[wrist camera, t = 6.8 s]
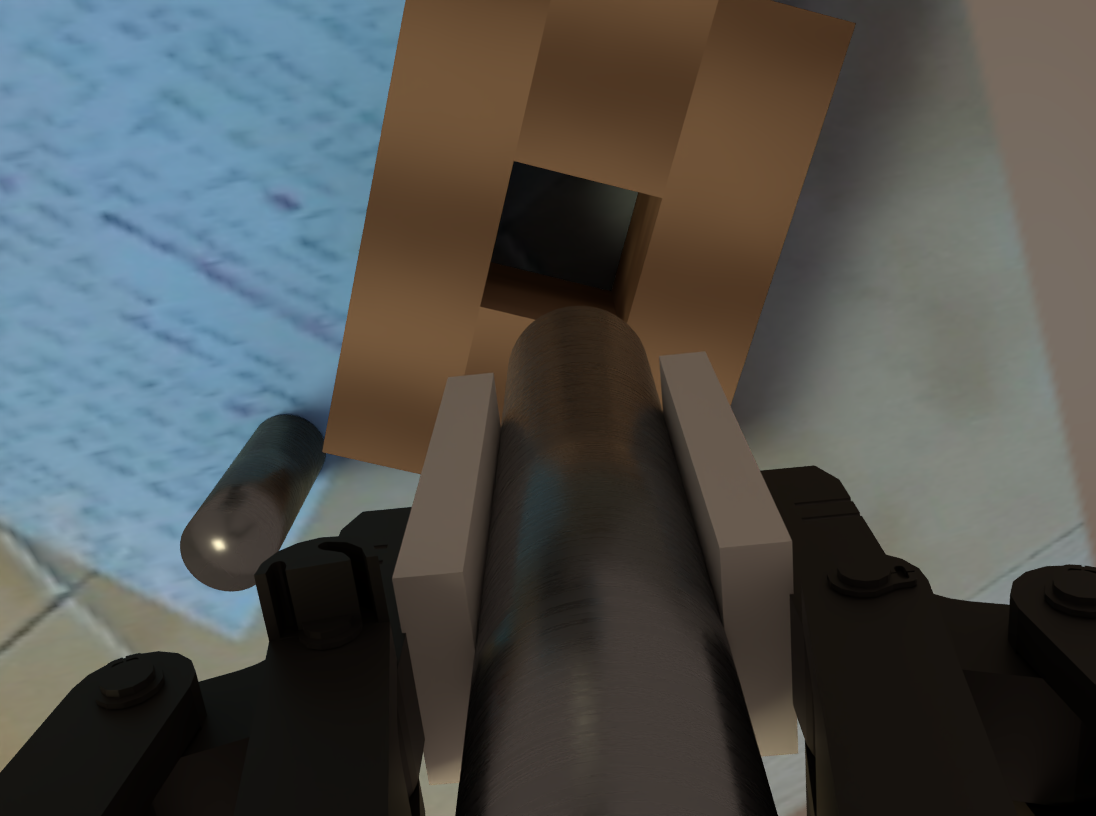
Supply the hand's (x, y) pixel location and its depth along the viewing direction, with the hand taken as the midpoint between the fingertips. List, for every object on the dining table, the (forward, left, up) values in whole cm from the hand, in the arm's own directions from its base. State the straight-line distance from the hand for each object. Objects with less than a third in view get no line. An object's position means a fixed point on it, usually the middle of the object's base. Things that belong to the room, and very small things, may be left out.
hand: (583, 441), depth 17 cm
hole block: (0, 0, -20) cm, 20 cm away
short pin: (+11, -8, -20) cm, 24 cm away
